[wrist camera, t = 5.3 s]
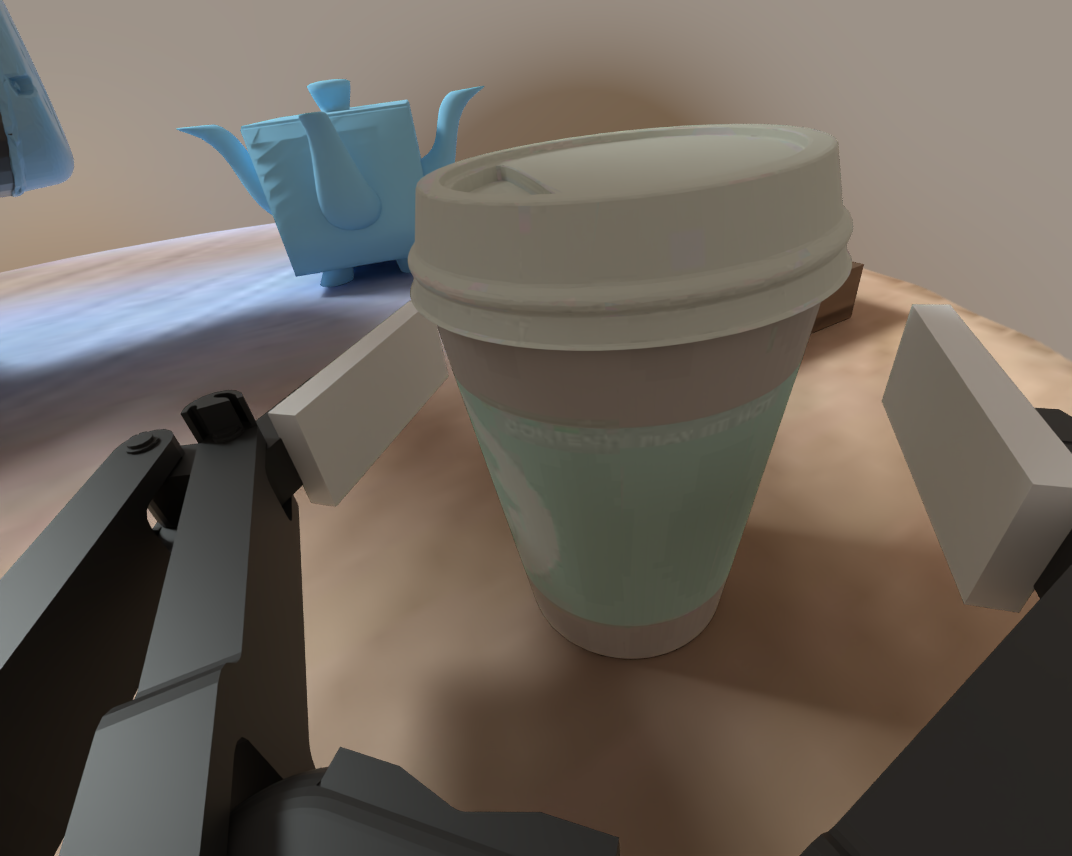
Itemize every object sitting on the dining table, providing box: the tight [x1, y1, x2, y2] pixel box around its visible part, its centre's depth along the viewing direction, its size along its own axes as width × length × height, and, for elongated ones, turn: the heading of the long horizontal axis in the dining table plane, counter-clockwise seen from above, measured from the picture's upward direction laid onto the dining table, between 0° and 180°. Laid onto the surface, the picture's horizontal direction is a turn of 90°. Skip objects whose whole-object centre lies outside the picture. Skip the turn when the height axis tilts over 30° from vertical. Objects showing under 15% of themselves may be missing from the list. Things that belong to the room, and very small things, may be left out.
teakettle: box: [177, 79, 484, 287], centre depth 45 cm, size 19×19×15 cm
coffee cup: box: [408, 124, 853, 659], centre depth 13 cm, size 9×9×12 cm
